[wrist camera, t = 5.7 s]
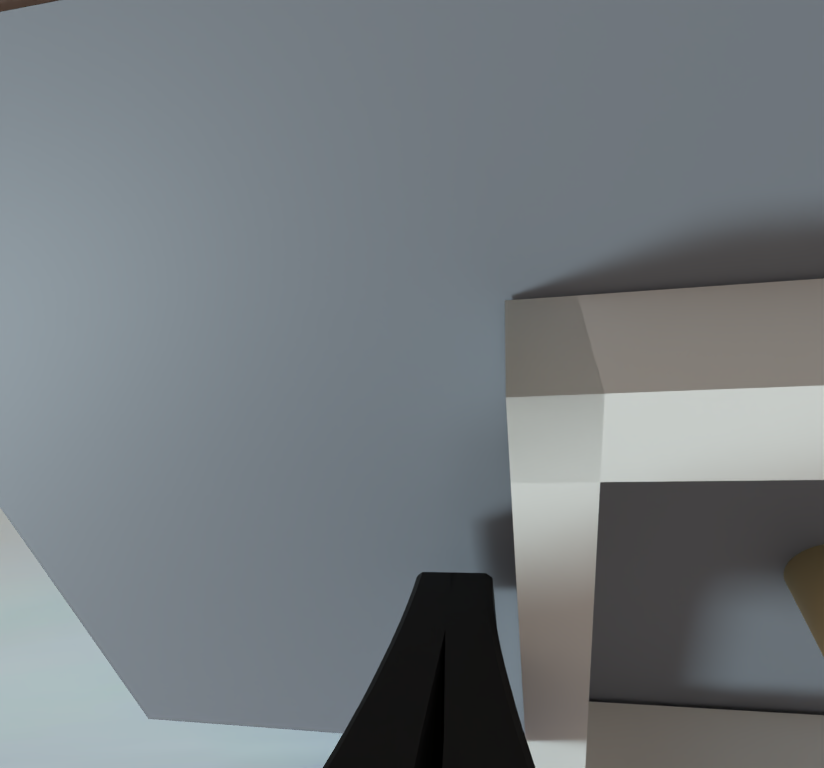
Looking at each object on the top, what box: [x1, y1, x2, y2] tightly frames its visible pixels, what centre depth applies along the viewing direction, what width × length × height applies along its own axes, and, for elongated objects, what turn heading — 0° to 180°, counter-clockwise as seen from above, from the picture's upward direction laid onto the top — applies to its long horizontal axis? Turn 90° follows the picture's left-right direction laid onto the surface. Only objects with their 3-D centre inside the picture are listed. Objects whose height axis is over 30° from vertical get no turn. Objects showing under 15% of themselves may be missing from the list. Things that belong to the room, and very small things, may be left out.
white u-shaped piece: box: [505, 278, 824, 768], centre depth 9 cm, size 11×9×2 cm
